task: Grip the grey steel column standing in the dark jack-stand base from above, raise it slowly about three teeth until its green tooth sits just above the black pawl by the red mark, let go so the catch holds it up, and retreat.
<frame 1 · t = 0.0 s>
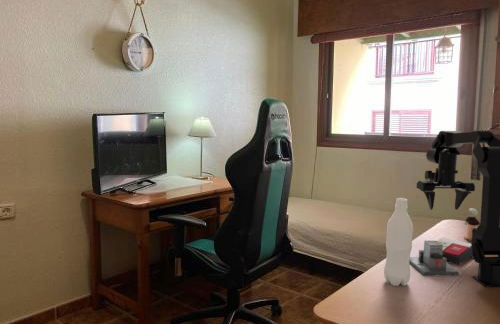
hand: (443, 209, 147), 15 cm above the table, tool pointing down, fingers open, 9 cm apart
column: (433, 253, 130), point 5 cm above the table, slide at 0.0 cm
button control pad: (449, 256, 143), on the table
stand base: (431, 267, 131), on the table
water bottle: (396, 283, 120), on the table
grandmother figurine: (470, 240, 160), on the table
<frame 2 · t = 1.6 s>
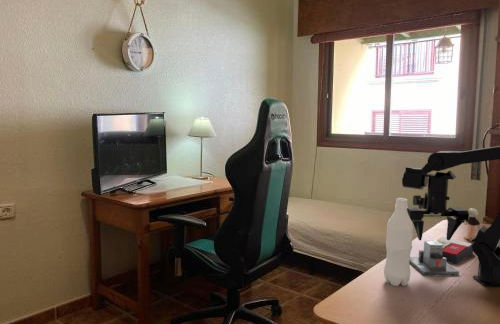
hand: (433, 240, 130), 9 cm above the table, tool pointing down, fingers open, 9 cm apart
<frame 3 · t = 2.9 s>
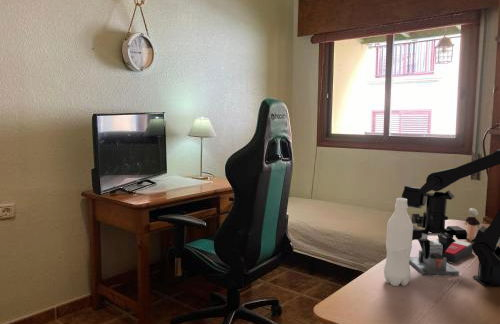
hand: (432, 258, 131), 3 cm above the table, tool pointing down, fingers closed on column, 4 cm apart
column: (433, 253, 130), point 5 cm above the table, slide at 0.0 cm, touching gripper
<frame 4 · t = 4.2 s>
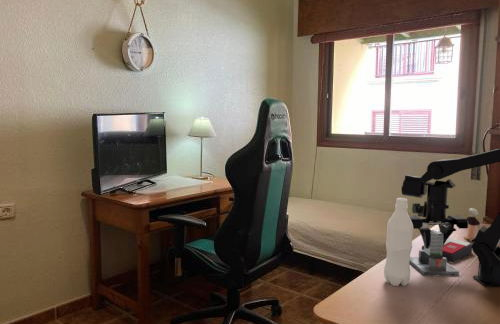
hand: (433, 248, 130), 7 cm above the table, tool pointing down, fingers closed on column, 4 cm apart
column: (433, 242, 130), point 8 cm above the table, slide at 3.5 cm, touching gripper
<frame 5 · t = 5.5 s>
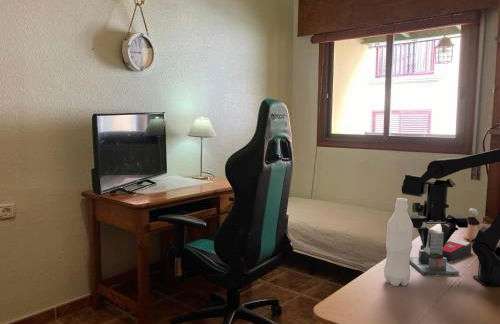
hand: (433, 247, 130), 7 cm above the table, tool pointing down, fingers open, 5 cm apart
column: (433, 242, 130), point 9 cm above the table, slide at 3.7 cm
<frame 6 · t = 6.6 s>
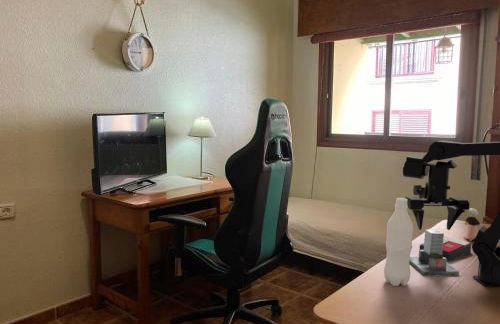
hand: (434, 229, 130), 13 cm above the table, tool pointing down, fingers open, 9 cm apart
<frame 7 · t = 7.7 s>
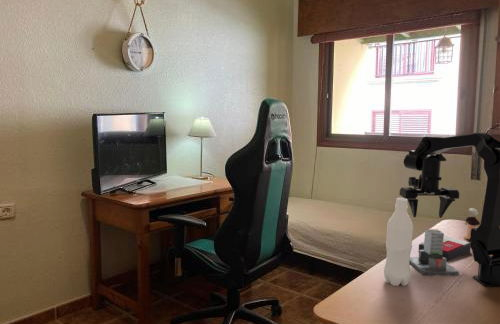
hand: (427, 217, 143), 13 cm above the table, tool pointing down, fingers open, 9 cm apart
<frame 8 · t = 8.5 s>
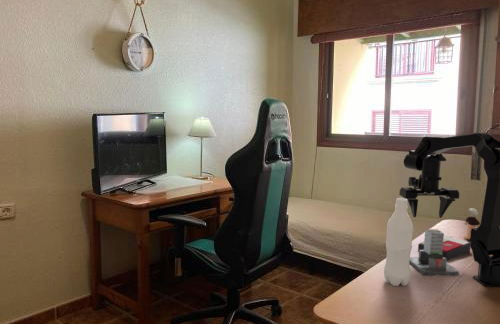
hand: (427, 217, 143), 13 cm above the table, tool pointing down, fingers open, 9 cm apart
at the end: column slide at 3.7 cm; the gripper is holding nothing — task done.
